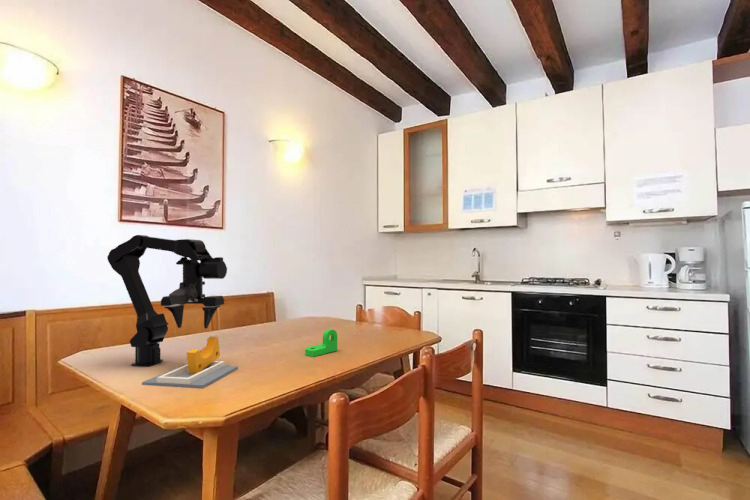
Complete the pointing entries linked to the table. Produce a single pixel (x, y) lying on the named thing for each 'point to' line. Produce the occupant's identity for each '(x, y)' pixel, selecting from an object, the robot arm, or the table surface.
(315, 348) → the mechanical part
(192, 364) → the pipe clamp
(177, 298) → the robot arm
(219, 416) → the table surface
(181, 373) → the jig board
